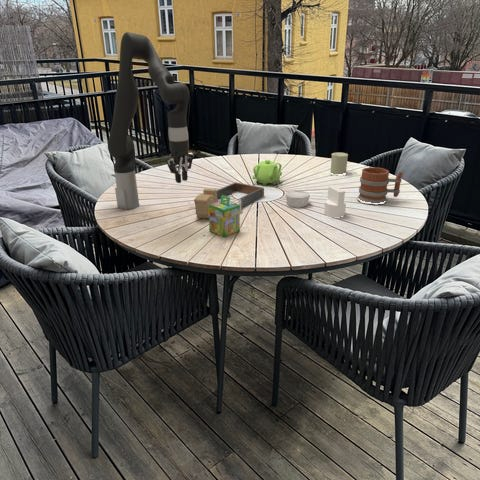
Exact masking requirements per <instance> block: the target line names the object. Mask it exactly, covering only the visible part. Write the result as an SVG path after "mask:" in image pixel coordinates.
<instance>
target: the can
mask: <svg viewBox="0 0 480 480" xmlns="http://www.w3.org/2000/svg"><path fill="white" fill-rule="evenodd" d="M348 157H349V154H348V153H347V152H346V153H345V152H333V153H331V161H330V162H331V163H330V172H331V173H333V174H343V173H346V174H347V169H348Z"/></svg>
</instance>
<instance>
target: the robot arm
mask: <svg viewBox="0 0 480 480" xmlns="http://www.w3.org/2000/svg"><path fill="white" fill-rule="evenodd" d="M119 49H120V50H119V68H118V79H117V86H116V92H115V99H114V107H113V116H112V125H111V128H110V133H109V136H108V140H107V150H108V153H109V154H110V156H112V157H113V158H115V159H116V160H115V163H114V165H113V172H114V179H115V185H116V187H115V188H114V190H115V198H116V205H117V208H119V209H123V210H131V209H135V208H138V207H139V206H140V203H139V202H140V200H139V193H138V191H139V190H138V183H137V176H136V168H135V167H136V150H135V142H134V140H133V139H132V137H131V136H130V135H129V134H128V133H129V130H130V129H129V128H130V125H131V123H132V121H133V119H134V117H135V116H136V115H135V114H136V112H137V110H138V105H139V104H138V103H139V97H140V94H139V93H140V92H139V89H138V85H137V83H136V79H135V78H134V74H133V71H132V70H133V69H132V67H133V59H134V60H140V61H142V60H143V61H144V62H146V63H147V65H148V68H147V70H148V75H149V78H150V79H151V81H152V82H153V83H154V84H155V85H156V86H157V89H158V92H159V95H160V98H161V100H162V102H163V103H165V104H166V105H175V104H176V107H175V108H174V109H172V110H170V111H168V113H167V123H168V124H167V125H168V133H167V134H168V142H169V144H168V145H169V151H170V152H171V155H170V158H169V159H166V162H165V163H166V164H167V167H168V169H169V171H170V173H171V174H174V176H175V177H174V179H175V182H176V183H177V184H181V183H182V181H183V182H184V181H185V182H186V181H188V178H189V176H188V171H189V170H190V169H192V164H193V159H194V154H192V153H189V150H190V144H189V143H190V142H189V131H188V123H187V121H188V120H187V114H188V107H189V103H190V102H189V101H190V90H189V87H188V85H186V84H185V83H182V82H179V83H175V78H174V76H173V74H172V73H171V72H170V71H169V70H168V68H167V67H166V66H165V65H164V63H163V62H162V60H161V59H160V57H159V54H158V52H157V51H156V49H155V47H154V45H153V43H152V41H151V40H150V39H149V38H148V37H147V36H146V35H144V34H139V33H134V32H129V31H127V32H124V33H123V35H122V37H121V41H120V48H119Z"/></svg>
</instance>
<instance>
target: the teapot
mask: <svg viewBox="0 0 480 480" xmlns="http://www.w3.org/2000/svg"><path fill="white" fill-rule="evenodd" d="M278 166H279V167H278ZM252 168H253V169H252V170H253V175H252V179H253V180H256V181H257V183H259V184H260V183H261V185H262V186H264V187H266V186H268V184H272V185H277V184H278V183H277V182H279V181H280V179H281V177H282V175H283V174H282V164H281V163H280V162H275V161H271V160H270V159H264V160H262V161H260V162H258V164H257V165H256V164H255V165H254V166H253V167H252Z"/></svg>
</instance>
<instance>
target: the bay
mask: <svg viewBox="0 0 480 480" xmlns="http://www.w3.org/2000/svg"><path fill="white" fill-rule="evenodd" d="M216 192H217V199H218V201H219V200H221V196H222V195H224V196H227V197H229V195H232V194H234V193H236V192H237V193H241V194H246V195H244V196H241V197H240V198H238V204H239V205H240V214H241V213H242V209H243V208H245V207H246V205H247V206H249V205H251V204H252V203H254V202H256V201H258V200H260V199H262V198H264V197H265V187H262V186H258V185H257V186H256V185H254V184H253V185H251V184H246V183H241V182H236V181H235V182H233V183H230V184H228V185H226V186H223V187H221V188H219V189H216ZM201 194H202V193H199V195H201ZM248 204H249V205H248ZM244 206H245V207H244ZM242 207H243V208H242Z"/></svg>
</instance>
